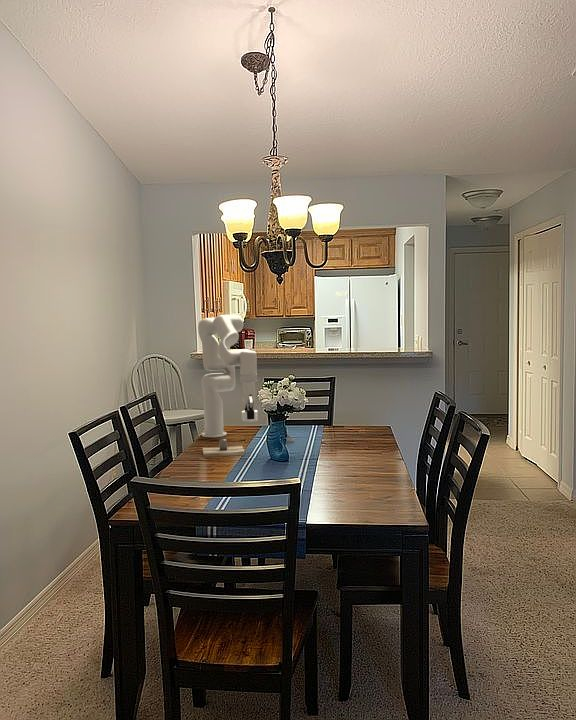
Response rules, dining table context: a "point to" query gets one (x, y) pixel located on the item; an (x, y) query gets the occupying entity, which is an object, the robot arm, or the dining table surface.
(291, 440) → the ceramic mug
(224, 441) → the dark domed cylinder
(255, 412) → the ring
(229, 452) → the block
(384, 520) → the dining table surface
